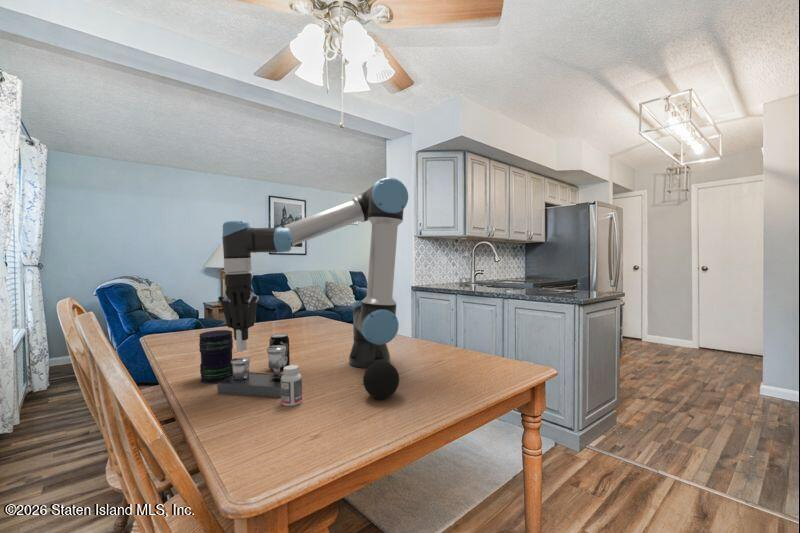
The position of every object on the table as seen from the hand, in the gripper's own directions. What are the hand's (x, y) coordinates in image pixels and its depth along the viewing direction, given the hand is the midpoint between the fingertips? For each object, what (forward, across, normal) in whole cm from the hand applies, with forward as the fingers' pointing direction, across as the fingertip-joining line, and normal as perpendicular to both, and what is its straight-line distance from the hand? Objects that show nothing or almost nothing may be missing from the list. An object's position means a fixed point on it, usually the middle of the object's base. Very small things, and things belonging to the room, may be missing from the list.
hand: (241, 350), depth 114 cm
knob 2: (+7, -11, 0) cm, 14 cm away
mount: (+11, -5, 0) cm, 13 cm away
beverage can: (+12, -1, -19) cm, 22 cm away
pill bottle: (+12, -20, +8) cm, 25 cm away
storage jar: (+11, +14, -6) cm, 19 cm away
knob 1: (+11, +1, 0) cm, 11 cm away
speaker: (+12, -43, 0) cm, 45 cm away
